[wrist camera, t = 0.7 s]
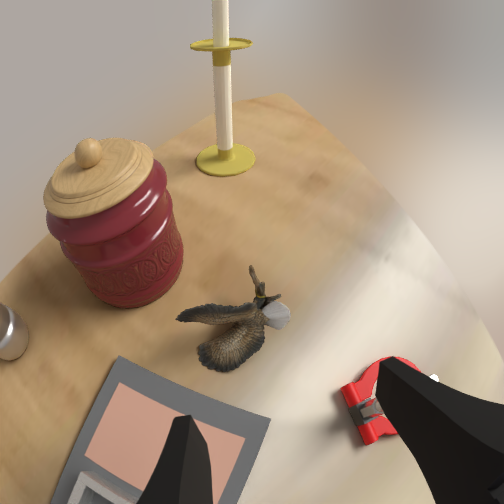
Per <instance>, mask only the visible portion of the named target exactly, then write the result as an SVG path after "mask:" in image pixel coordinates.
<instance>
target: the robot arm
mask: <svg viewBox="0 0 504 504" xmlns="http://www.w3.org/2000/svg"><path fill="white" fill-rule="evenodd" d="M375 396H376V398H377V400H378V402H379V404H380V406H381V408H382V410H383V412H384V414H385V415H386V417H387V418H388V420H389V421H390V423H391V424H392V426H393V427H394V428H395V430H396V431H397V433H398V434H399V436H400V437H401V438H402V440H403V441H404V443H405V444H406V445H407V447H408V448H409V450H410V451H411V453H412V454H413V456H414V457H415V459H416V461H417V463H418V465H419V467H420V469H421V471H422V473H423V475H424V477H425V479H426V481H427V483H428V486H429V488H430V490H431V492H432V495H433V498H434V500H435V503H436V504H504V405H503V404H498V403H494V402H489V401H486V400H482V399H479V398H476V397H473V396H470V395H467V394H465V393H462V392H460V391H457V390H455V389H453V388H450V387H448V386H446V385H444V384H442V383H440V382H438V381H436V380H434V379H432V378H430V377H428V376H427V375H425V374H423V373H421V372H419V371H418V370H416V369H414V368H412V367H411V366H409V365H407V364H406V363H404V362H402V361H400V360H399V359H397V358H395V357H393V356H392V357H389V358H387V359H385V360H382V361H380V362H379V371H378V379H377V387H376V394H375ZM136 504H213V492H212V474H211V463H210V457H209V451H208V445H207V442H206V441H205V439H204V437H203V435H202V434H201V432H200V430H199V428H198V427H197V425H196V423H195V421H194V419H193V418H192V416H191V415H185V416H178V417H175V418H174V419H173V422H172V425H171V428H170V431H169V434H168V436H167V439H166V442H165V445H164V447H163V450H162V452H161V455H160V457H159V460H158V462H157V464H156V467H155V469H154V471H153V473H152V475H151V477H150V479H149V481H148V483H147V485H146V487H145V489H144V491H143V493H142V495H141V496H140V498H139V500H138V501H137V503H136Z"/></svg>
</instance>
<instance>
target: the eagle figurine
mask: <svg viewBox="0 0 504 504" xmlns="http://www.w3.org/2000/svg"><path fill="white" fill-rule="evenodd" d="M249 273H250V275H251V277H252V279H253V283H254V284H255V288H256V289H255V292H256V297H255V298H254V301H253V303H244V305H241V306H239V307H237V306H235V307H233V306H231V305H229V306H222V305H216V304H213V303H211V304H205V306H203V305H201V306H197V307H194V308H190V309H186V310H185V311H183V312H181V314H180V315H178V316H177V317H178V318H176V320H179V321H180V322H182V321H184V322H201V323H205V324H210V325H215V324H225V323H229V322H234V324H233V326H232V327H231V328H230V329H229V330H228V331H227V332H225V333H224V334H222V335H221V336H219V337H217V338H216V339H214V340H211V341H208V342H206V343H203V344H202V345H200V346H199V348H200V351H199V352H198V354H199V355H200V357H199V361H201V362H202V365H203V366H208V369H214V368H216V371H220V370H222V371H223V372H226V371H230V370H234V369H235V368H238V367H239V366H240V364H242V363H244V362H245V361H246V359H248V358H249V357H250V356H252V355H253V353H256V352H257V351H259V350H260V348H261V347H262V344H263V343H264V339H265V337H264V331H263V330H264V326H263V325H267V326H270V327H273V328H275V329H278V330H280V329H282V328H284V327H285V325H286V324H287V323H288V322H289V321H290V316H291V313H290V310H289V309H288V308H287V307H286V306H285V305H284V304H282V303H281V302H277V301H274V300H276V299H278V298H280V297H281V294H278V295H276V296H272V297H266V295H265V283H264V282H261V283H260V282H259V280H258V278H257V276H256V274H255V271H254V269H253V267H252V265H250V266H249Z"/></svg>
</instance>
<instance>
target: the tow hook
mask: <svg viewBox="0 0 504 504" xmlns="http://www.w3.org/2000/svg"><path fill="white" fill-rule="evenodd" d="M387 358H389V357H386V358H382V359H380V360H378V361H376V362H374V363H373V364H372V365H370V366H369V367H368V368H367V369H366V370H365V371H364V373H363V374H362V376H361V378H360V379H359V381H358V382H356V383H354V382H352V383H349V384H347V385H345V386H343V387H342V388H341V391H342V393H343V395H344V397H345V400H346V402H347V404H348V406H349V411H350V414H351V416H352V418H353V420H354V423H355V425H356V426H357V427H358V429H359V431H360V434H361V436H362V438H363V441H364V443H365V445H369V444H372V443H374V442H375V441H377V440H378V439H379V438H378V437H379V436H381V435H383V434H385V435H394V434H398V433H397V431H396V430H395V428H394V427H393V426H392V424H391V423H390V421H389V420H388V419H386V418H384V417H383V416H379V415H382V414H384V412H383V410H382V408H381V406H380V404H379V402H378V400H377V398H374V399H372V400H371V398H369V397H371V395H372V389H373V385H374V383H375V381H376V380H377V378H378V371H379V362H380V361H382V360H385V359H387ZM395 358H397V359H399V360H400V361H402V362H404V363H406V364H407V365H409V366H411V367H412V368H414V369H416V370H418V371H419V372H421V371H420V370H419V369H418V368H417V367H416V366H415V365H414V364H413V363H411V362H410V361H408V360H406V359H403V358H400V357H395ZM428 377H430V378H432V379H434V380H436V381H438V377H437V376H436V375H435V374H432V375H430V376H428ZM367 398H368V399H367ZM365 399H366V400H365ZM363 400H364V401H363Z"/></svg>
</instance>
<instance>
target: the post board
mask: <svg viewBox="0 0 504 504" xmlns="http://www.w3.org/2000/svg"><path fill="white" fill-rule="evenodd" d="M185 415H191V416H192V418H193V419H194V421H195V423H196V425H197V427H198V428H199V430H200V432H201V434H202V435H203V437H204V439H205V441H206V442H207V445H208V451H209V457H210V463H211V474H212V492H213V504H237V502H238V499H239V497H240V495H241V493H242V490H243V488H244V486H245V483H246V481H247V479H248V476H249V474H250V472H251V469H252V467H253V464H254V462H255V459H256V457H257V454H258V452H259V449H260V447H261V444H262V442H263V439H264V437H265V434H266V431H267V429H268V426H269V423H270V421H271V419H270V418H267V417H264V416H260V415H257V414H254V413H251V412H248V411H245V410H242V409H239V408H237V407H234V406H231V405H228V404H226V403H223V402H220V401H218V400H215V399H212V398H210V397H207V396H205V395H202V394H200V393H197V392H195V391H193V390H190V389H188V388H185V387H183V386H181V385H179V384H176V383H174V382H172V381H170V380H168V379H165V378H163V377H161V376H159V375H157V374H155V373H153V372H151V371H149V370H147V369H145V368H143V367H141V366H139V365H137V364H135V363H133V362H131V361H129V360H127V359H125V358H123V357H121V356H120V355H119V356H118V358H117V360H116V362H115V364H114V365H113V367H112V369H111V371H110V373H109V375H108V377H107V379H106V381H105V383H104V385H103V387H102V389H101V391H100V393H99V395H98V397H97V399H96V401H95V403H94V405H93V407H92V409H91V411H90V413H89V415H88V417H87V419H86V421H85V423H84V425H83V428H82V430H81V432H80V434H79V436H78V438H77V441H76V443H75V445H74V447H73V450H72V452H71V454H70V456H69V459H68V461H67V463H66V466H65V468H64V470H63V473H62V475H61V478H60V480H59V483H58V485H57V488H56V490H55V493H54V495H53V498H52V500H51V503H50V504H67V503H68V501H69V498H70V496H71V493H72V491H73V489H74V486H75V484H76V481H77V479H78V477H79V474H80V472H81V471H94V472H96V473H97V474H99V475H100V476H102V477H103V478H105V479H106V480H108V481H110V482H111V483H113V484H114V485H116V486H118V487H119V488H121V489H123V490H125V491H126V492H128V493H130V494H132V495H133V496H135V497H137V498H140V496H141V495H142V493H143V491H144V489H145V487H146V485H147V483H148V481H149V479H150V477H151V475H152V473H153V471H154V469H155V467H156V464H157V462H158V460H159V457H160V455H161V452H162V450H163V447H164V445H165V442H166V439H167V436H168V434H169V431H170V428H171V425H172V422H173V419H174V418H175V417H178V416H185ZM90 504H114V503H112V502H111V501H109V500H107V499H106V498H104V497H103V496H101V495H100V494H98V493H97V492H95V494H94V496H93V498H92V501H91V503H90Z"/></svg>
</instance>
